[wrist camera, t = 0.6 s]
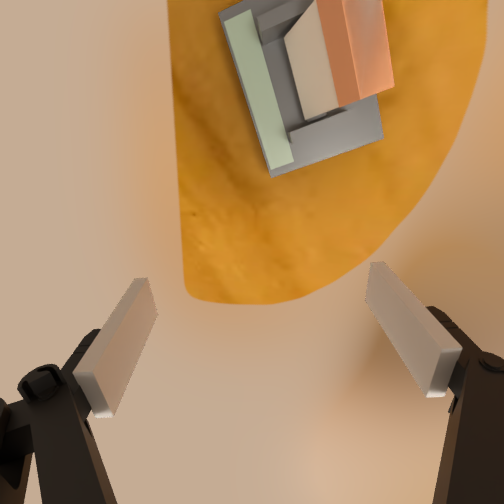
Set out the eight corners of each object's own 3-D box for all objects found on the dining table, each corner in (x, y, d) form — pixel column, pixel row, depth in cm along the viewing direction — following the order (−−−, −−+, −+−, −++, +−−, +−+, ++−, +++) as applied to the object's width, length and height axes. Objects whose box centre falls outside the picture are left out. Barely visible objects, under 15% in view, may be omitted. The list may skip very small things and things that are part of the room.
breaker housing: (339, -25, 31) (366, -87, 23) (370, 138, 38) (400, 138, 29) (225, 29, 34) (209, -8, 25) (271, 173, 40) (271, 183, 31)
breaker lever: (305, 30, 30) (375, -46, 19) (325, 115, 32) (395, 88, 22) (278, 39, 29) (335, -34, 19) (300, 124, 32) (360, 102, 22)
